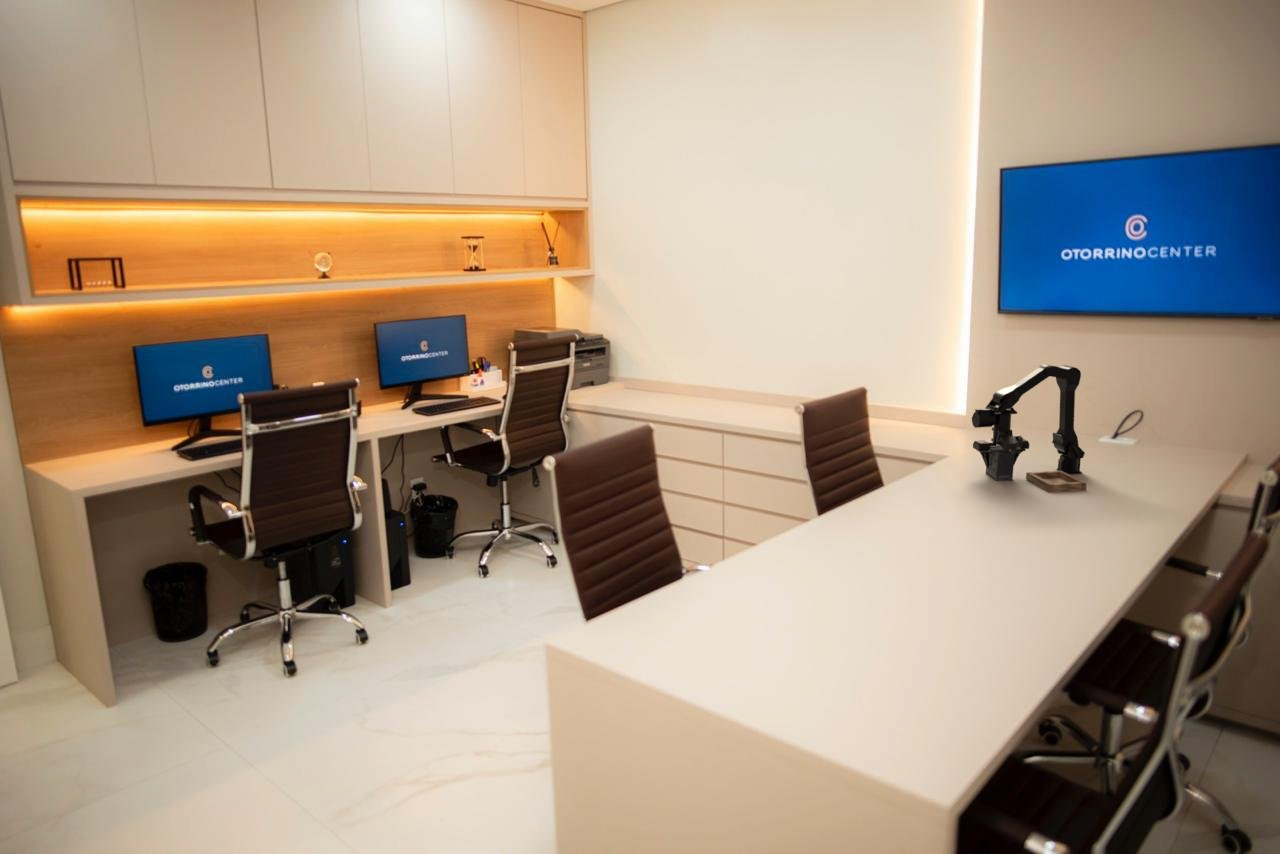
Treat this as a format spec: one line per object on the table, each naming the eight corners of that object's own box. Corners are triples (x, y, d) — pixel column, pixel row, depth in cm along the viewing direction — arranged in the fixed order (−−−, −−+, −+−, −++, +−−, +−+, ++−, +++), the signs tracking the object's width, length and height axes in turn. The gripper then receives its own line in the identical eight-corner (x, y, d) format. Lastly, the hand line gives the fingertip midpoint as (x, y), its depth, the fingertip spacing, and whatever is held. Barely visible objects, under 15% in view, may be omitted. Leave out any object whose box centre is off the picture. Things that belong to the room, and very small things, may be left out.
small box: (1014, 480, 308) (1015, 452, 306) (995, 481, 308) (997, 453, 306) (1002, 472, 318) (1004, 445, 316) (984, 473, 319) (986, 446, 316)
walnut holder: (1060, 477, 309) (1061, 470, 309) (1085, 490, 294) (1086, 482, 293) (1025, 479, 309) (1026, 472, 308) (1049, 492, 293) (1049, 484, 293)
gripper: (987, 432, 301) (984, 474, 304) (1038, 429, 302) (1035, 472, 305) (973, 425, 312) (971, 466, 315) (1022, 422, 313) (1020, 464, 316)
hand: (999, 467), depth 313 cm, fingers open, 9 cm apart
